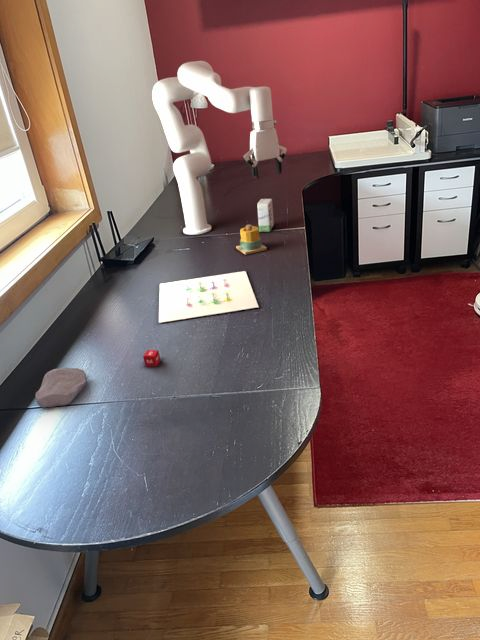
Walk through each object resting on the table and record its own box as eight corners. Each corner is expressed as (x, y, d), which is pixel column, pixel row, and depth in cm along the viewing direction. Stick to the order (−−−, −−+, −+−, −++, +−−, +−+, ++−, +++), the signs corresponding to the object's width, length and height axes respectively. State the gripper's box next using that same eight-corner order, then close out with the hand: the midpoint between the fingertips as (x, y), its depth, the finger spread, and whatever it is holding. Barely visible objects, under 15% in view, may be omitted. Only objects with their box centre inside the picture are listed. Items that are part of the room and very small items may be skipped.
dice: (156, 366, 129) (154, 356, 127) (145, 366, 129) (142, 356, 128) (160, 360, 131) (158, 350, 130) (149, 359, 132) (147, 350, 130)
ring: (240, 242, 193) (239, 232, 191) (242, 236, 198) (241, 226, 196) (258, 241, 192) (257, 231, 190) (260, 235, 197) (259, 225, 195)
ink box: (262, 225, 222) (260, 198, 216) (274, 225, 220) (272, 197, 214) (258, 232, 214) (256, 204, 208) (270, 231, 213) (268, 203, 207)
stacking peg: (236, 248, 199) (233, 225, 194) (256, 243, 202) (254, 220, 197) (245, 255, 192) (242, 230, 187) (266, 249, 195) (264, 225, 190)
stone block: (90, 382, 128) (49, 380, 127) (89, 366, 126) (47, 364, 125) (80, 412, 118) (35, 410, 117) (78, 396, 116) (32, 394, 115)
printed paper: (258, 308, 152) (258, 303, 151) (158, 323, 149) (157, 319, 148) (245, 271, 178) (245, 267, 177) (160, 284, 175) (159, 280, 174)
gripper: (279, 121, 186) (282, 169, 195) (236, 128, 180) (242, 178, 189) (289, 122, 180) (292, 172, 189) (245, 130, 174) (250, 181, 183)
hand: (267, 175), depth 189 cm, fingers open, 9 cm apart
